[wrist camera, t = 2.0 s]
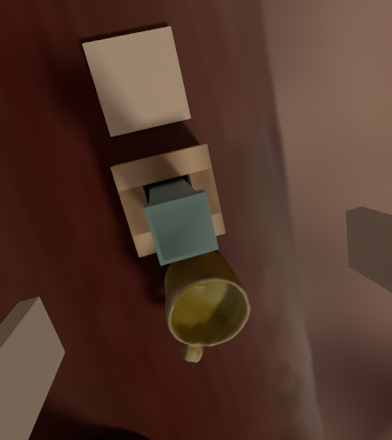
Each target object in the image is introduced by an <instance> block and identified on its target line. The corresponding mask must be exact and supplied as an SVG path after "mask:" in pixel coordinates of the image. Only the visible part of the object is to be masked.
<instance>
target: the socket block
mask: <svg viewBox="0 0 392 440" xmlns="http://www.w3.org/2000/svg"><path fill="white" fill-rule="evenodd" d="M110 168H111V171H112V174H113V177H114V180H115V183H116V187H117V190H118V193H119V196H120V199H121V202H122V205H123V209H124V212H125V215H126V218H127V221H128V224H129V227H130V230H131V234H132V237H133V240H134V243H135V246H136V249H137V252H138V256H139V257H142V256H146V255H149V254H153V253H157V252H156V248H155V245H154V242H153V238H152V235H151V231H150V228H149V225H148V221H147V218H146V215H145V211H144V205H145V204H148V203H149V200H148V196H147V193H146V189H145V186H144V185H147V184H151V183H155V182H159V181H163V180H167V179H171V178H175V177H178V176H182V175H186V179H187V183H188V184H189V185H190V186H191V187H192V188H193V189H195V190H196V191H199V190H202V189H203V190H204V191H206V194H207V198H208V203H209V207H210V212H211V216H212V221H213V225H214V230H215V234H216V236H218V235H221V234H225V228H224V223H223V219H222V214H221V209H220V204H219V199H218V195H217V190H216V185H215V180H214V175H213V171H212V166H211V161H210V156H209V151H208V147H207V144H202V145H196V146H192V147H188V148H184V149H180V150H176V151H172V152H168V153H163V154H159V155H155V156H151V157H147V158H143V159H139V160H134V161H130V162H126V163H122V164H118V165H115V166H112V167H110Z"/></svg>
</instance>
